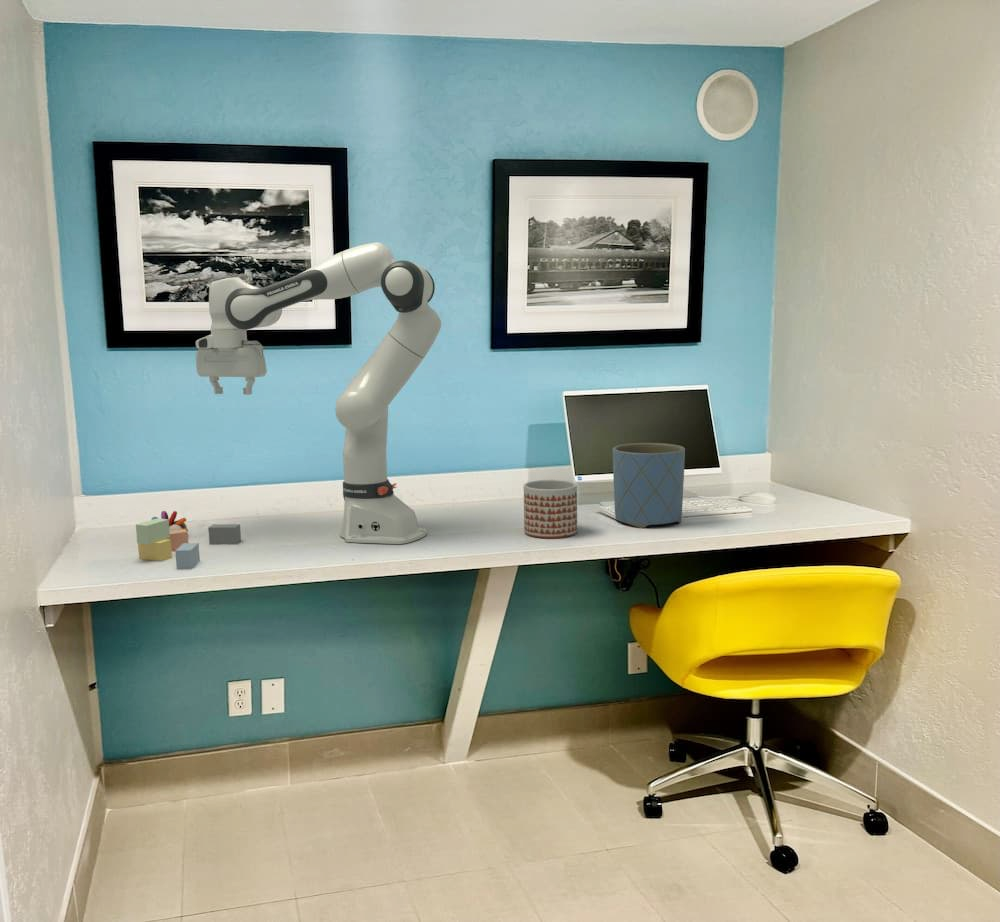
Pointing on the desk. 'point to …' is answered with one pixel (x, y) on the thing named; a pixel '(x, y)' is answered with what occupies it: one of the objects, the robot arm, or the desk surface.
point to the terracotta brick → (178, 538)
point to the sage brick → (152, 531)
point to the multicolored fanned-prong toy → (173, 521)
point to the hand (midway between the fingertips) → (233, 394)
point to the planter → (648, 483)
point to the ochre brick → (156, 550)
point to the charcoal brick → (224, 534)
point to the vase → (550, 508)
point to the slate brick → (187, 555)
